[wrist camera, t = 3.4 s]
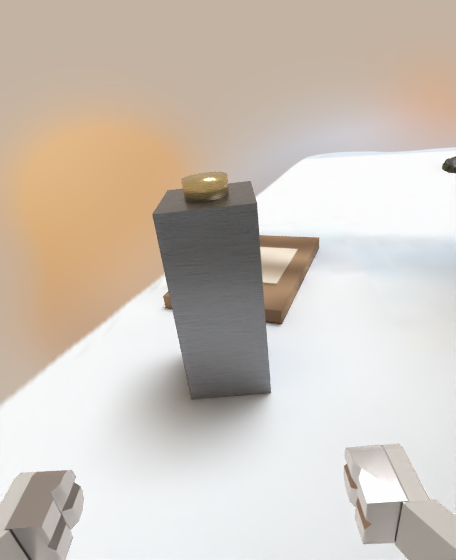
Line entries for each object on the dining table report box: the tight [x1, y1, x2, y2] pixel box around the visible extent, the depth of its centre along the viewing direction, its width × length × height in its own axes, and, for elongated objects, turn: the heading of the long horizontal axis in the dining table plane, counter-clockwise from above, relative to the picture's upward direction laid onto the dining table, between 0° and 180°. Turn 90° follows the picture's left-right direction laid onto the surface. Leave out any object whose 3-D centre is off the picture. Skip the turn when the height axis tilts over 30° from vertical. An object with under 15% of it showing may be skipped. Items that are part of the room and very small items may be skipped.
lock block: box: [153, 172, 271, 399], centre depth 22 cm, size 5×5×13 cm
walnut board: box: [163, 235, 319, 324], centre depth 37 cm, size 16×11×1 cm
